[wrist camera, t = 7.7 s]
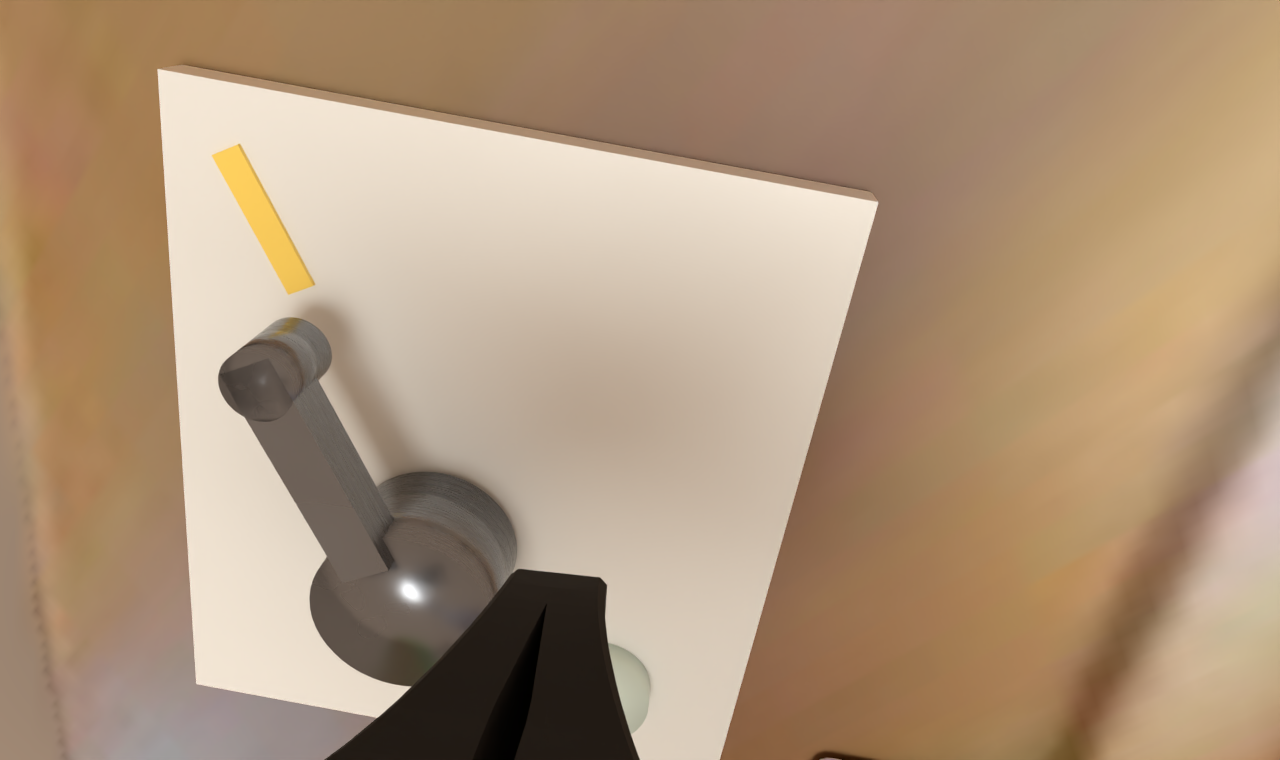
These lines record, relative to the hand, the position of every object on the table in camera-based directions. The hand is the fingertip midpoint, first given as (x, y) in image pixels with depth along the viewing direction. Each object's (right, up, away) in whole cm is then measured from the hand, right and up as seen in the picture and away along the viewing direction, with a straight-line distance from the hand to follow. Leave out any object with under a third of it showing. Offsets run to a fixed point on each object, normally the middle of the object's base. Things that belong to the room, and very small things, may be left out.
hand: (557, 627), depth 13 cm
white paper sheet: (-3, +1, +11) cm, 11 cm away
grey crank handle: (-5, +1, +10) cm, 11 cm away
